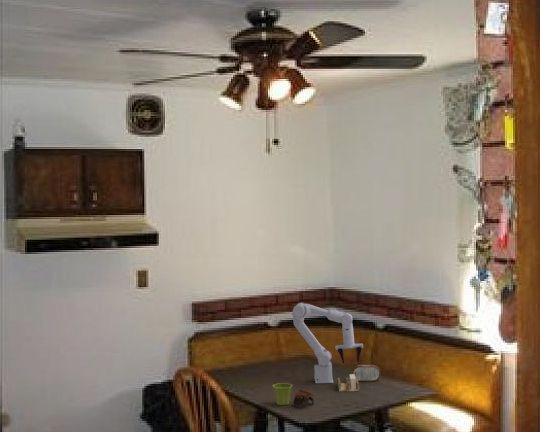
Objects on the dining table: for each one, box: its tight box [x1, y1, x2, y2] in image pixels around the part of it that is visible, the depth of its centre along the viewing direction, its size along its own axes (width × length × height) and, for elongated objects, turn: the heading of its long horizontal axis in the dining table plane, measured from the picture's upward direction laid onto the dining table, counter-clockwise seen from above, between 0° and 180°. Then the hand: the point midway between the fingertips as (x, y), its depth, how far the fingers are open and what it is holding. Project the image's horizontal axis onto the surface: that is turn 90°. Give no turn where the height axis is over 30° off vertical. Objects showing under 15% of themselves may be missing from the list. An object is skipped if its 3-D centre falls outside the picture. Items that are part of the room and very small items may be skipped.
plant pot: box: [272, 382, 293, 406], centre depth 307 cm, size 9×9×9 cm
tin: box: [351, 364, 381, 382], centre depth 344 cm, size 15×3×8 cm, turn 84°
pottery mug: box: [292, 389, 315, 409], centre depth 303 cm, size 12×10×8 cm
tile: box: [349, 373, 356, 389], centre depth 331 cm, size 2×9×5 cm, turn 177°
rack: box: [337, 376, 360, 392], centre depth 331 cm, size 10×12×4 cm
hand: (350, 362), depth 342 cm, fingers open, 7 cm apart
